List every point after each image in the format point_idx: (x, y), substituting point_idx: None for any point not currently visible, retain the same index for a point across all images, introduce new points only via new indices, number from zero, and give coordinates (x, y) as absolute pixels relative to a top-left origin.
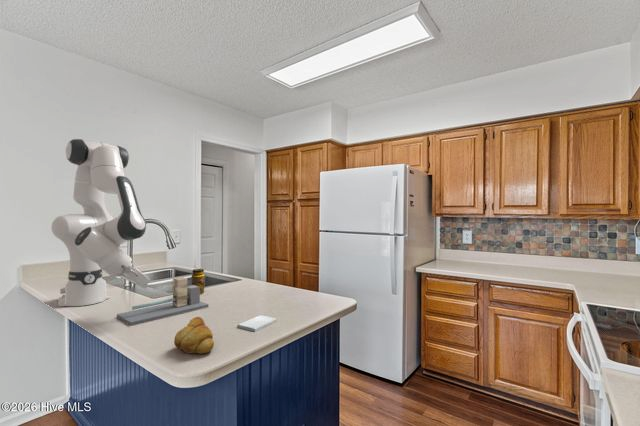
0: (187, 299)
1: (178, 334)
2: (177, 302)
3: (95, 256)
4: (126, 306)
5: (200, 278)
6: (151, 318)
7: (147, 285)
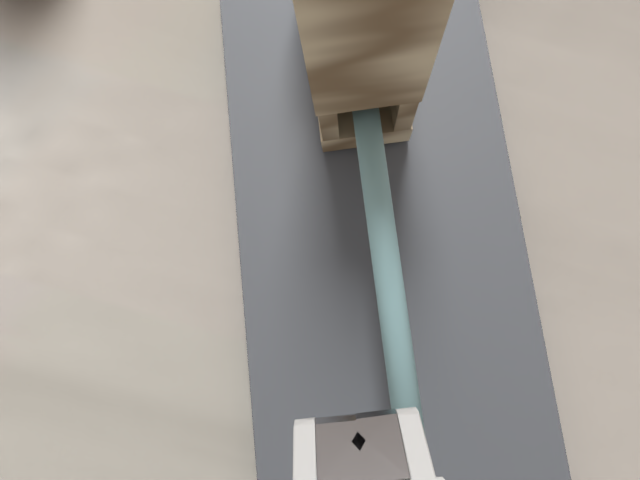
0: None
1: None
2: (411, 126)
3: None
4: (21, 412)
5: None
6: (546, 375)
7: (418, 419)
